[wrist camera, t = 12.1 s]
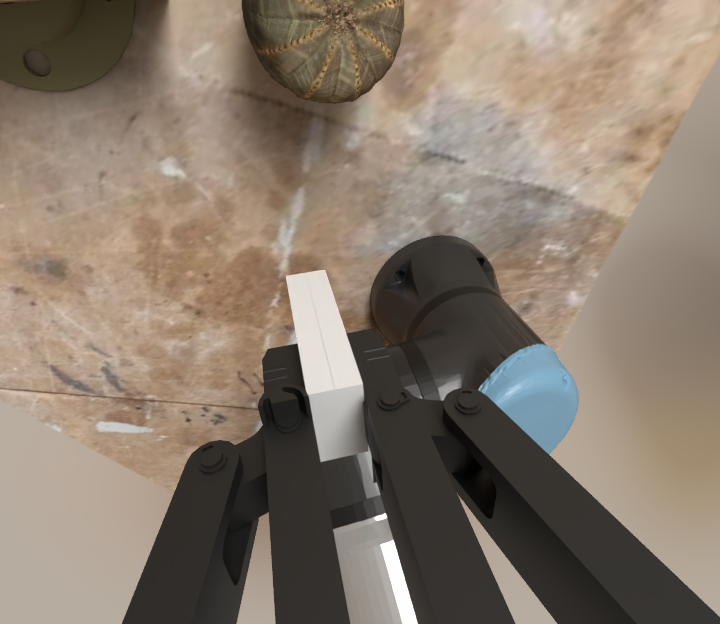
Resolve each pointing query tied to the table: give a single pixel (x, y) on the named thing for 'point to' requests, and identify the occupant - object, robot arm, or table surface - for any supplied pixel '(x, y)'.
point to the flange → (63, 40)
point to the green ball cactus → (325, 44)
